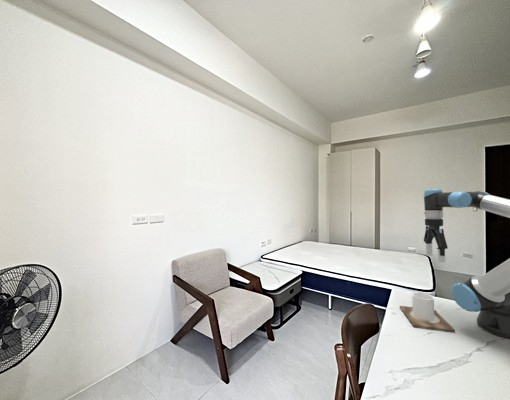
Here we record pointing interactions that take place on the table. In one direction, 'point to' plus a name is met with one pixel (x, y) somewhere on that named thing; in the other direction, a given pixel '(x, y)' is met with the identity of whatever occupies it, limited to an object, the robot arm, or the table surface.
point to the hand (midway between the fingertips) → (435, 258)
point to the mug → (423, 306)
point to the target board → (432, 325)
